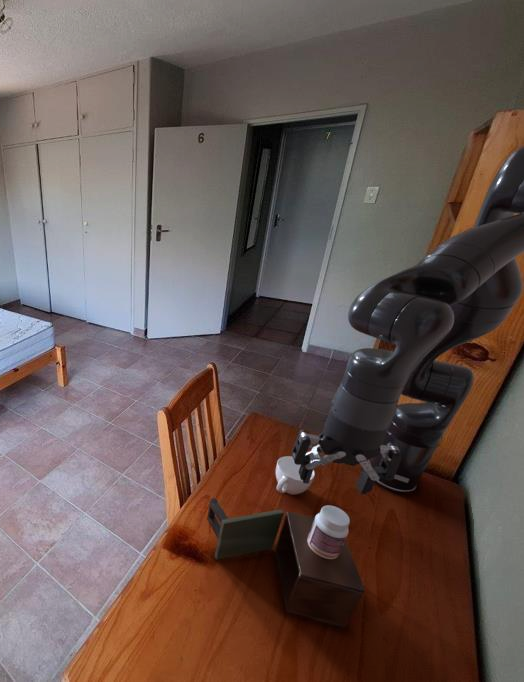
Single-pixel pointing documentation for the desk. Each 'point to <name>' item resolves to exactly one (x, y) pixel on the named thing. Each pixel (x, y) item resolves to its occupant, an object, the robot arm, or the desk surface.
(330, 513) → the pill bottle
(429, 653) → the desk surface
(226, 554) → the cupboard door
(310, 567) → the cupboard
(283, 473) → the cup
